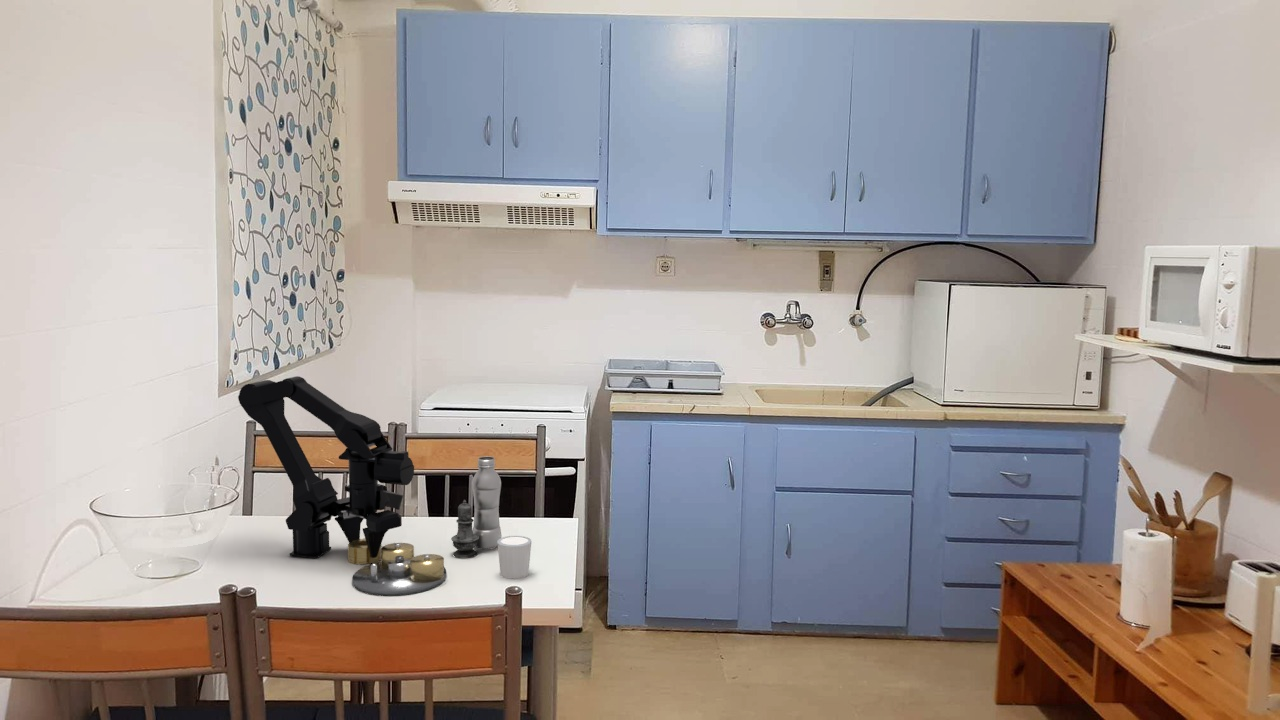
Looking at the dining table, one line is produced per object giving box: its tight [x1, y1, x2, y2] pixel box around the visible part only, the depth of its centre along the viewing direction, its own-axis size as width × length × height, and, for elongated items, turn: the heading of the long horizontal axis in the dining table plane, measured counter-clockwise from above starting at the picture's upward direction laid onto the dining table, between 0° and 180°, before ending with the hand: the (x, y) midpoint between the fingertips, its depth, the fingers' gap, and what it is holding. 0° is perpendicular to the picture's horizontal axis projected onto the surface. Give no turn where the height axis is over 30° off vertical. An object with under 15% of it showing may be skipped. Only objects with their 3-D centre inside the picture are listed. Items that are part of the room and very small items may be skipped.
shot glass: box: [497, 535, 532, 580], centre depth 191 cm, size 7×7×7 cm
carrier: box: [352, 542, 447, 597], centre depth 187 cm, size 18×18×5 cm
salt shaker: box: [450, 499, 479, 559], centre depth 202 cm, size 6×6×12 cm
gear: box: [347, 537, 382, 566], centre depth 198 cm, size 6×6×4 cm
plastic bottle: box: [471, 455, 503, 550], centre depth 206 cm, size 6×7×20 cm
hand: (364, 553), depth 198 cm, fingers closed on gear, 6 cm apart
